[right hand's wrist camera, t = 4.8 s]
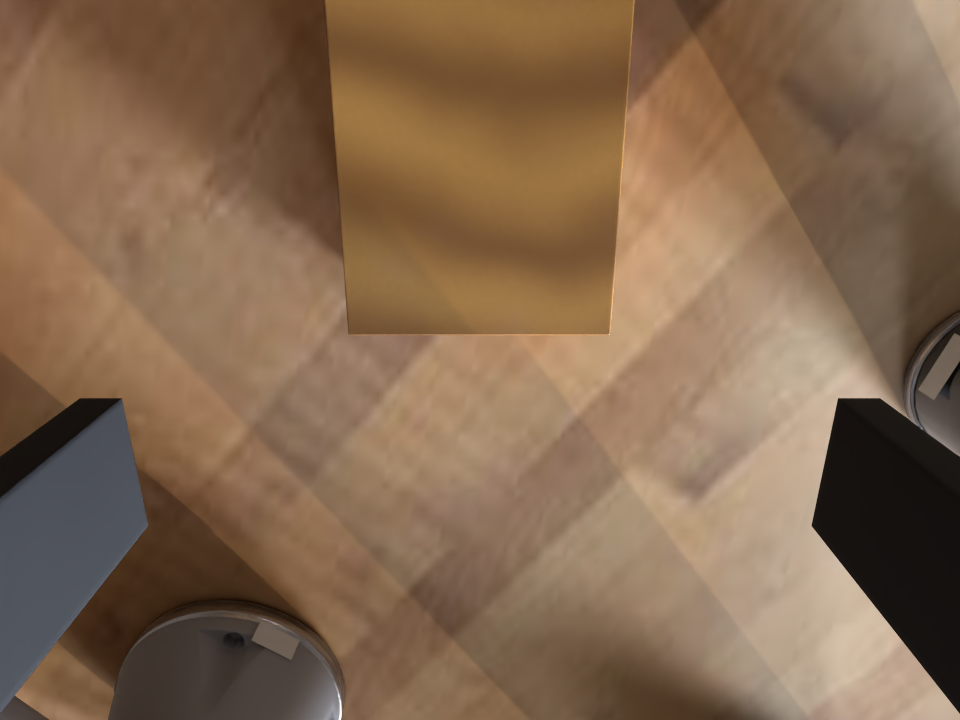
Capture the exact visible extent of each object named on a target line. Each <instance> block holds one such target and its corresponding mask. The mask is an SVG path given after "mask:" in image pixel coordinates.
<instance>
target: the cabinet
mask: <svg viewBox="0 0 960 720" xmlns="http://www.w3.org/2000/svg"><path fill="white" fill-rule="evenodd" d="M634 2H635V0H324V4H325V18H326V32H327V45H328V59H329V73H330V87H331V100H332V114H333V128H334V141H335V155H336V169H337V183H338V196H339V210H340V224H341V238H342V251H343V265H344V279H345V292H346V306H347V320H348V333H349V335H610V331H611V317H612V303H613V290H614V276H615V262H616V249H617V235H618V221H619V208H620V194H621V180H622V166H623V153H624V139H625V125H626V112H627V98H628V84H629V71H630V57H631V43H632V30H633V16H634Z"/></svg>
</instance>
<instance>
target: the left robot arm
mask: <svg viewBox="0 0 960 720" xmlns="http://www.w3.org/2000/svg"><path fill="white" fill-rule="evenodd" d="M903 398H904V405H905V408H906V412H907V414H908V417H909V419H910V420H911V421H912V422H913V423H914V424H916V425H917V426H918V427H920V428H921V429H922V430H924V431H925V432H927V433H928V434H929V435H931V436H932V437H933V438H935V439H936V440H937V441H939V442H940V443H942V444H943V445H944V446H946V447H947V448H948V449H950V450H951V451H952V452H954V453H955V454H957V455H958V456H959V457H960V312H958V313H956V314H954V315H953V316H951V317H950V318H948V319H947V320H945V321H944V322H943V323H941V324H940V325H939V326H938V327H937V328H935V329H934V330H933V331H932V332H931V333H930V334H929V335H928V337H927V338H926V339H925V340H924V341H923V342H922V344H921V345H920V346H919V348H918V349H917V351H916V353H915V354H914V356H913V358H912V360H911V362H910V364H909V367H908V369H907V373H906V376H905V381H904V389H903Z"/></svg>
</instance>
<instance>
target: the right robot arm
mask: <svg viewBox="0 0 960 720" xmlns="http://www.w3.org/2000/svg"><path fill="white" fill-rule="evenodd" d="M147 527H148V522H147V517H146V512H145V507H144V503H143V498H142V493H141V488H140V483H139V479H138V474H137V469H136V464H135V459H134V455H133V450H132V445H131V440H130V435H129V431H128V426H127V421H126V416H125V412H124V407H123V402H122V398H80V399H79V400H77V401H76V402H74V403H73V404H72V405H70V406H69V407H68V408H66V409H65V410H64V411H62V412H61V413H59V414H58V415H57V416H55V417H54V418H53V419H51V420H50V421H48V422H47V423H46V424H44V425H43V426H42V427H40V428H39V429H38V430H36V431H35V432H33V433H32V434H31V435H29V436H28V437H27V438H25V439H24V440H23V441H21V442H20V443H18V444H17V445H16V446H14V447H13V448H12V449H10V450H9V451H8V452H6V453H5V454H3V455H2V456H1V457H0V720H49V719H47V718H46V717H44V716H43V715H42V714H40V713H39V712H37V711H36V710H34V709H33V708H31V707H30V706H29V705H27V704H26V703H24V702H23V701H21V700H20V699H18V698H17V697H16V696H14V695H15V694H16V693H17V692H18V690H19V689H20V688H21V687H22V685H23V684H24V683H25V681H26V680H27V679H28V678H29V676H30V675H31V674H32V673H33V671H34V670H35V669H36V668H37V666H38V665H39V664H40V662H41V661H42V660H43V659H44V657H45V656H46V655H47V654H48V652H49V651H50V650H51V649H52V647H53V646H54V645H55V643H56V642H57V641H58V640H59V638H60V637H61V636H62V635H63V633H64V632H65V631H66V630H67V628H68V627H69V626H70V624H71V623H72V622H73V621H74V619H75V618H76V617H77V616H78V614H79V613H80V612H81V611H82V609H83V608H84V607H85V605H86V604H87V603H88V602H89V600H90V599H91V598H92V597H93V595H94V594H95V593H96V592H97V590H98V589H99V588H100V586H101V585H102V584H103V583H104V581H105V580H106V579H107V578H108V576H109V575H110V574H111V573H112V571H113V570H114V569H115V567H116V566H117V565H118V564H119V562H120V561H121V560H122V559H123V557H124V556H125V555H126V553H127V552H128V551H129V550H130V548H131V547H132V546H133V545H134V543H135V542H136V541H137V540H138V538H139V537H140V536H141V534H142V533H143V532H144V531H145V529H146V528H147ZM812 527H813V528H814V529H815V531H816V532H817V533H818V534H819V536H820V537H821V538H822V540H823V541H824V542H825V543H826V545H827V546H828V547H829V548H830V550H831V551H832V552H833V553H834V555H835V556H836V557H837V559H838V560H839V561H840V562H841V564H842V565H843V566H844V567H845V569H846V570H847V571H848V573H849V574H850V575H851V576H852V578H853V579H854V580H855V581H856V583H857V584H858V585H859V586H860V588H861V589H862V590H863V592H864V593H865V594H866V595H867V597H868V598H869V599H870V600H871V602H872V603H873V604H874V605H875V607H876V608H877V609H878V611H879V612H880V613H881V614H882V616H883V617H884V618H885V619H886V621H887V622H888V623H889V624H890V626H891V627H892V628H893V630H894V631H895V632H896V633H897V635H898V636H899V637H900V638H901V640H902V641H903V642H904V643H905V645H906V646H907V647H908V649H909V650H910V651H911V652H912V654H913V655H914V656H915V657H916V659H917V660H918V661H919V662H920V664H921V665H922V666H923V668H924V669H925V670H926V671H927V673H928V674H929V675H930V676H931V678H932V679H933V680H934V681H935V683H936V684H937V685H938V687H939V688H940V689H941V690H942V692H943V693H944V694H945V695H946V697H947V698H948V699H949V700H950V702H951V703H952V704H953V706H954V707H955V708H956V709H957V711H958V712H959V713H960V457H959V456H958V455H957V454H955V453H954V452H952V451H951V450H950V449H948V448H947V447H946V446H944V445H943V444H942V443H940V442H939V441H937V440H936V439H935V438H933V437H932V436H931V435H929V434H928V433H927V432H925V431H924V430H922V429H921V428H920V427H918V426H917V425H916V424H914V423H913V422H912V421H910V420H909V419H907V418H906V417H905V416H903V415H902V414H901V413H899V412H898V411H896V410H895V409H894V408H892V407H891V406H890V405H888V404H887V403H886V402H884V401H883V400H881V399H880V398H838V402H837V407H836V412H835V416H834V421H833V426H832V431H831V435H830V440H829V445H828V450H827V455H826V459H825V464H824V469H823V474H822V479H821V483H820V488H819V493H818V498H817V503H816V507H815V512H814V517H813V522H812ZM344 701H345V684H344V678H343V674H342V671H341V668H340V666H339V663H338V662H337V660H336V658H335V656H334V654H333V653H332V651H331V650H330V648H329V647H328V646H327V645H326V644H325V642H324V641H323V640H322V639H321V638H320V637H319V636H318V635H317V634H316V633H314V632H313V631H312V630H311V629H310V628H308V627H307V626H305V625H304V624H303V623H301V622H300V621H298V620H296V619H294V618H293V617H291V616H289V615H287V614H285V613H283V612H281V611H278V610H275V609H273V608H270V607H267V606H263V605H260V604H256V603H251V602H246V601H238V600H208V601H201V602H195V603H191V604H187V605H184V606H181V607H178V608H176V609H173V610H171V611H169V612H167V613H165V614H163V615H162V616H160V617H159V618H157V619H156V620H155V621H153V622H152V623H151V624H150V625H149V626H148V627H147V628H146V629H145V630H144V631H143V632H142V633H141V635H140V636H139V637H138V639H137V640H136V642H135V643H134V645H133V646H132V648H131V650H130V651H129V653H128V654H127V656H126V658H125V659H124V661H123V663H122V666H121V668H120V671H119V674H118V677H117V680H116V684H115V689H114V697H113V701H112V705H111V709H110V713H109V717H108V720H341V715H342V711H343V707H344Z"/></svg>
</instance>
